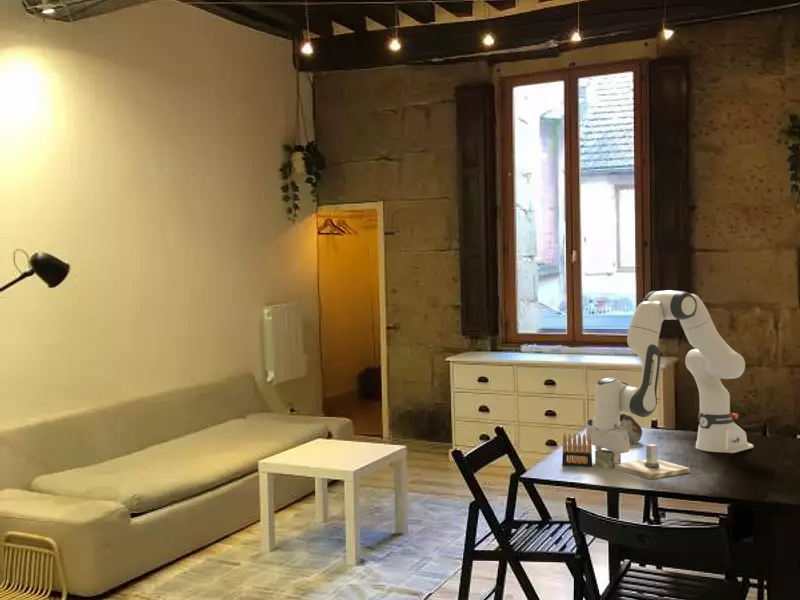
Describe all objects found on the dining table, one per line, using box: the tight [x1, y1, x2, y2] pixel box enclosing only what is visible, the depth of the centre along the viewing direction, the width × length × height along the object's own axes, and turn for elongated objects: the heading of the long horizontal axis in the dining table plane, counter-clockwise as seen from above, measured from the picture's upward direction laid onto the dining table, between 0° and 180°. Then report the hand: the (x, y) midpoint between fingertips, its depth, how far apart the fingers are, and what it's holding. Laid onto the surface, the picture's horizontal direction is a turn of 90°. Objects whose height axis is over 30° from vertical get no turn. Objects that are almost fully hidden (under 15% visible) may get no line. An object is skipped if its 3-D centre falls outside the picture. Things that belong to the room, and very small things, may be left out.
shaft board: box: [614, 443, 691, 480], centre depth 308 cm, size 18×18×9 cm
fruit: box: [620, 414, 643, 445], centre depth 354 cm, size 10×9×12 cm
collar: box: [594, 448, 622, 469], centre depth 317 cm, size 6×6×5 cm
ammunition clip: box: [561, 432, 593, 468], centre depth 317 cm, size 11×2×12 cm, turn 72°
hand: (607, 460), depth 317 cm, fingers closed on collar, 6 cm apart
